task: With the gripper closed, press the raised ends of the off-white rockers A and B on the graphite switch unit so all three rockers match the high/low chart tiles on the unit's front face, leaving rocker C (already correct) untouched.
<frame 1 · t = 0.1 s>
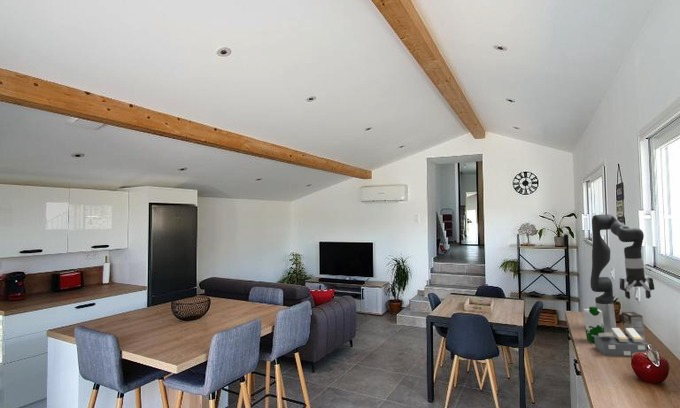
hand: (638, 298, 191), 29 cm above the cabinet, fingers open, 8 cm apart
rocker c: (633, 334, 195), point 9 cm above the cabinet, hinge at 18.0°
rocker b: (619, 334, 197), point 9 cm above the cabinet, hinge at 18.0°
milk carton: (595, 341, 214), on the cabinet
coffee box: (635, 342, 208), on the cabinet
rocker a: (605, 334, 199), point 9 cm above the cabinet, hinge at -18.0°
switch unit: (621, 351, 196), on the cabinet
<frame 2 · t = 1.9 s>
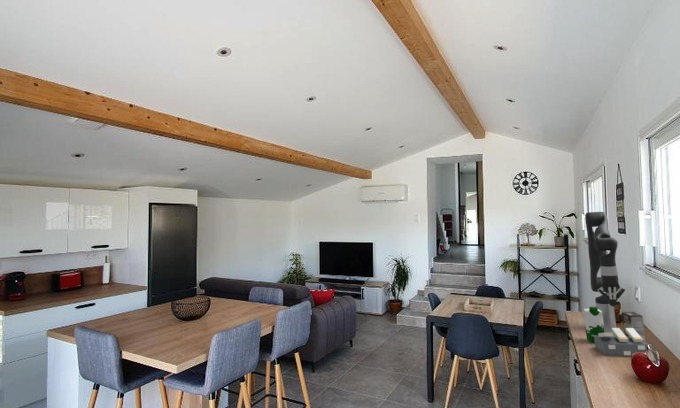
hand: (612, 306, 202), 23 cm above the cabinet, fingers closed
nothing on the cabinet moved.
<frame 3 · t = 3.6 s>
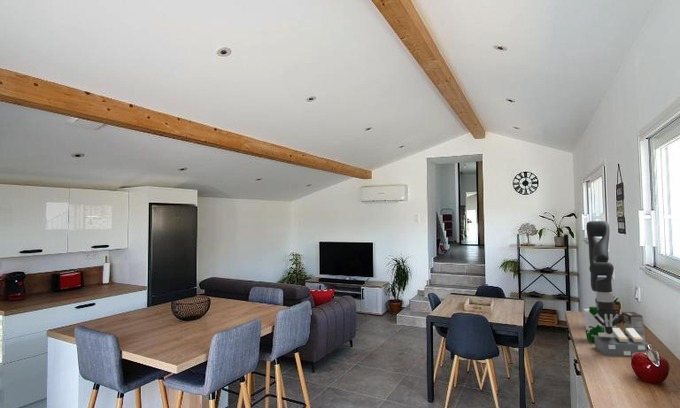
hand: (609, 333, 194), 11 cm above the cabinet, fingers closed
rocker a: (605, 334, 199), point 9 cm above the cabinet, hinge at -14.3°, touching gripper
everything else where it was.
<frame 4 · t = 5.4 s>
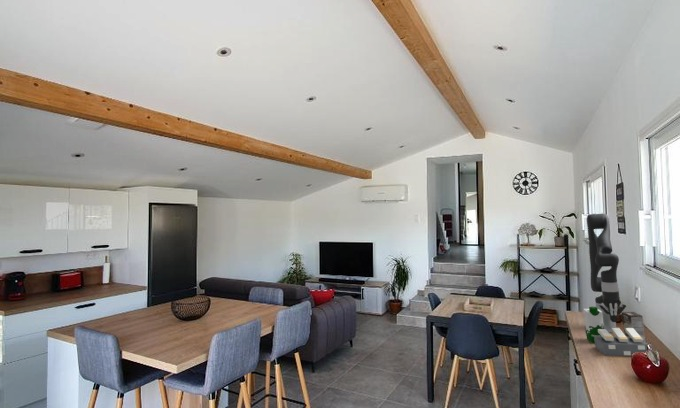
hand: (613, 321, 202), 14 cm above the cabinet, fingers closed
rocker a: (605, 334, 199), point 9 cm above the cabinet, hinge at 8.8°
everything else where it was.
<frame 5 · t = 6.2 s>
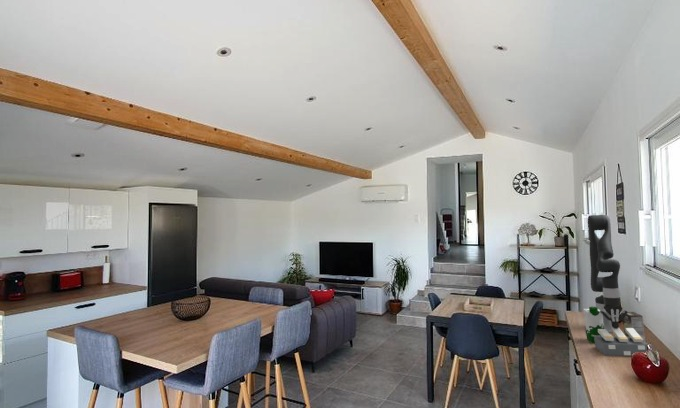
hand: (615, 328, 201), 11 cm above the cabinet, fingers closed
rocker b: (619, 334, 197), point 9 cm above the cabinet, hinge at 18.0°, touching gripper
rocker a: (605, 334, 199), point 9 cm above the cabinet, hinge at 9.2°
everything else where it was.
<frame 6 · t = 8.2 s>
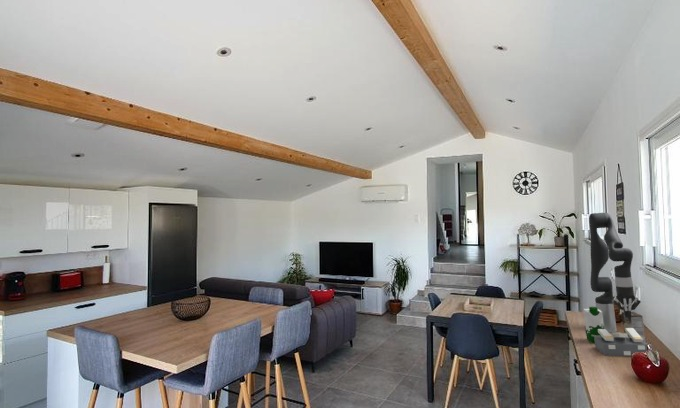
hand: (628, 317, 199), 17 cm above the cabinet, fingers closed
rocker b: (619, 334, 197), point 9 cm above the cabinet, hinge at -13.3°
everything else where it was.
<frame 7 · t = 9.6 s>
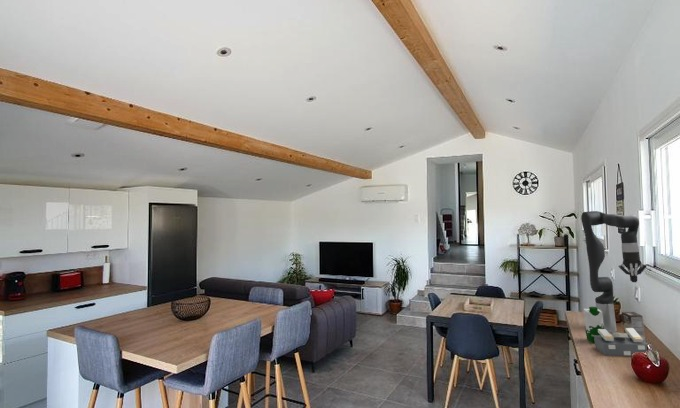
hand: (634, 282, 205), 35 cm above the cabinet, fingers closed
rocker b: (619, 334, 197), point 9 cm above the cabinet, hinge at -13.8°
everything else where it was.
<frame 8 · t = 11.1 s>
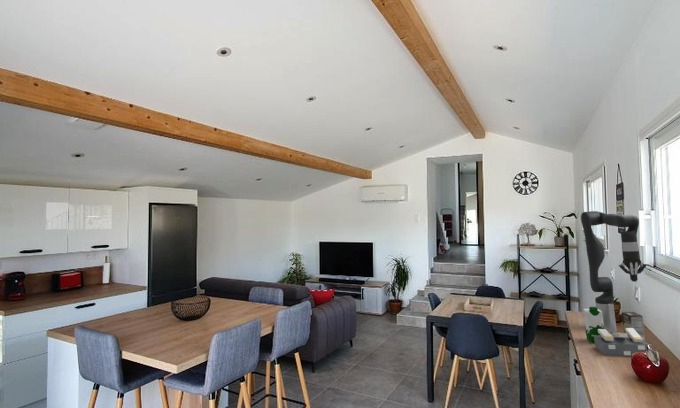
hand: (634, 281, 205), 35 cm above the cabinet, fingers closed
nothing on the cabinet moved.
at the end: rocker a at +9° (first picture: -18°); rocker b at -14° (first picture: +18°); rocker c at +18° (first picture: +18°) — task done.
